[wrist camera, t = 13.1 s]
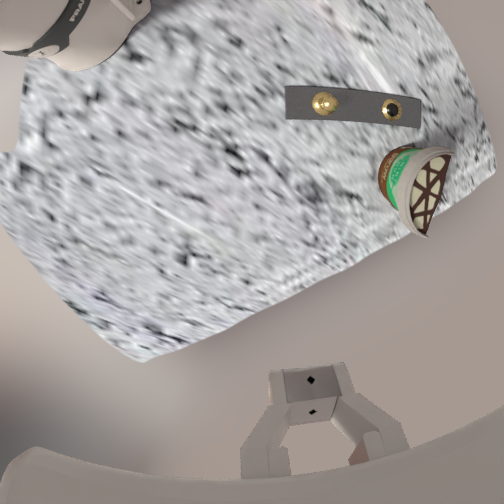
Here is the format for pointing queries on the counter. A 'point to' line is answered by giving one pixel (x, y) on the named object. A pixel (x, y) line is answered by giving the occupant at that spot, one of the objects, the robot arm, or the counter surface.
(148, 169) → the counter surface
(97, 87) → the counter surface
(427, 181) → the food container
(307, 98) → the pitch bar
